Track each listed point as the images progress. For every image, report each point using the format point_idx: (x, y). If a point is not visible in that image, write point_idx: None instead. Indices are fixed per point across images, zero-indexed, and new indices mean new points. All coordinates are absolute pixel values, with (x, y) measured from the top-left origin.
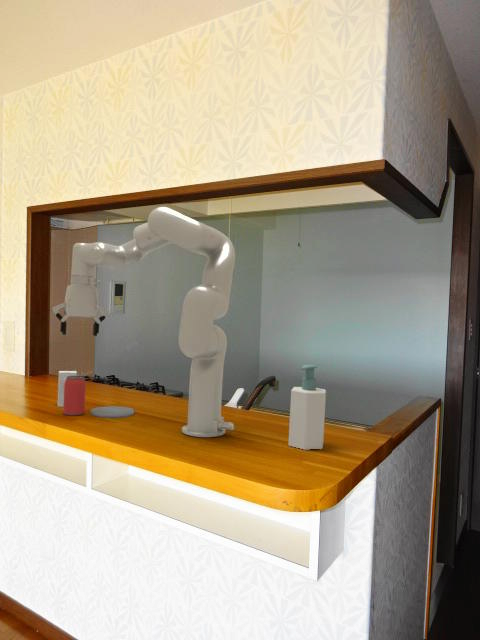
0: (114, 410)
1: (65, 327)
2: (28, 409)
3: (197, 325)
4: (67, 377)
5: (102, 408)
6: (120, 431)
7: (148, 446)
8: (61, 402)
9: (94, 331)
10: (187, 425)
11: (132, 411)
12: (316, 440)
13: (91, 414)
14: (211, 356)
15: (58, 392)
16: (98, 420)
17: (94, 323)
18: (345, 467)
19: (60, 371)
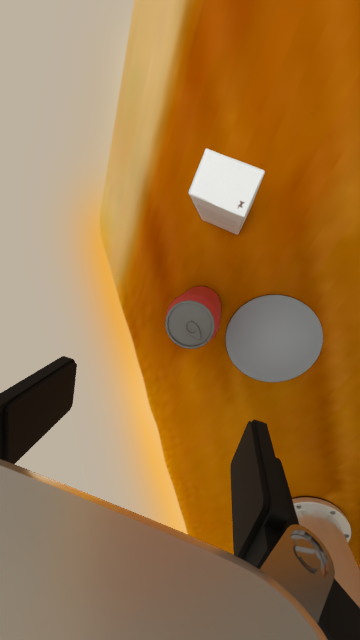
0: (274, 344)
1: (35, 438)
2: (140, 221)
3: None
4: (165, 325)
5: (264, 313)
6: (206, 449)
7: (197, 515)
8: (208, 221)
9: (234, 482)
10: (304, 505)
11: (302, 371)
12: None
13: (226, 330)
14: None
15: (198, 211)
16: (214, 375)
17: (264, 521)
18: None
19: (202, 169)
